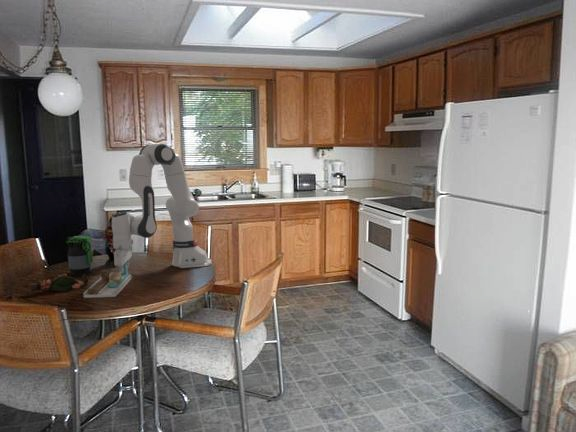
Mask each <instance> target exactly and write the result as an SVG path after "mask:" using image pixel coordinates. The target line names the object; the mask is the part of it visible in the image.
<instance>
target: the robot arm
mask: <svg viewBox="0 0 576 432" xmlns="http://www.w3.org/2000/svg"><path fill="white" fill-rule="evenodd" d="M159 165H161V167H162V170H163V174H164V179H165V183H166V188H167V189H168V191H169V193H170V194H171V196H170V197H169V198H168V199H166V201H165V208H166V210H167V212H168V214H169V217H170V221H171V224H172V225H171V226H172V235H173V240H172V249H173V254H172V255H173V256H172V262H171V265H172V266H174V267H177V268H179V269H185V268H196V267H197V268H200V267H209V266H210V265H211V264H212V259H211V258H208V254H207V251H206V250H205V249H203V248H201V247H200V246H198V240H197V239H195V238H194V227H193V224H192V223H191V220H190V218H192V217H194V216H196V215H197V214H198V213H199V211H200V210H199V209H200V205H199V202H198V201H197V200H196V199H195V198H194V195H193V194H192V191H191V190H190V186H189V185H188V181H187V177H186V171H185V168H184V165H183V162H182V159H181V157H180V155H179V154H177V153H175V152H174V149H173V148H172V146H170V145H168V144H165V143H153V144H146V145H144V146H143V147H142V148H141V149H140V151H139V153H138V154H136V155H135V156H133V157H132V161H131V163H130V167H129V175H128V184H129V188H130V190H132V191H133V192H134V193H135V194H137V195H138V196H139V198H140V200H141V202H142V203H141V204H142V206H141V208H142V213H141V214H142V215H141V216H142V217H141V216H137V215H133V214H131V213H129V212H128V211H119V212H116V213H113V214H114V215H113V217H112V231H113V248H114V249H116V251H115V252H114V264H115V266H117V268H118V270H119V271H118V272H121V273H123V272H124V269H123V264H125V265H127V268H129V266H130V259H131V257H133V244H134V240H133V239H132V236H133V235H134V236H139V237H142V238H145V239H149V238H151V237H153V236H154V235H155V233H156V232H157V228H158V226H157V221H156V220H157V219H156V209H155V207H156V206H155V202H156V201H155V192H154V191H155V190H154V189H153V184H152V177H153V176H152V175H153V168H154V166H159Z"/></svg>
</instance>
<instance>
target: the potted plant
mask: <svg viewBox="0 0 576 432" xmlns="http://www.w3.org/2000/svg"><path fill="white" fill-rule="evenodd" d="M65 243H67V244H66V245H67V259H68V262H67V263H68V270H69V272H70V274H71V275H72V276H82V275H83V274H84V275H87V274H89V273H90V270H91V263H92V262H93V260H94V259H93V248H92V247H93V246H92V237H91V235H89V236H88V235H87V236H86V235H85V236H84V235H83V236H82V235H75V236H66V241H65Z"/></svg>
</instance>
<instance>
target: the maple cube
mask: <svg viewBox="0 0 576 432" xmlns="http://www.w3.org/2000/svg"><path fill="white" fill-rule="evenodd" d="M121 281H122V277H121V272H119V271H112V272H109V282H118V284H119V283H120V282H121Z"/></svg>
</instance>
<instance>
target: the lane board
mask: <svg viewBox="0 0 576 432" xmlns="http://www.w3.org/2000/svg"><path fill="white" fill-rule="evenodd" d="M100 280H101V277H100V278H99V279H98V280H96V281H95V282H94V283H92V284H91V286H90V287H88V288H87V289H86V290H84V292H82V294H83V298H84V299H86V298H87V299H88V298H113V297H114V298H115V297H117V296H118V295H119V293H120V292H122V290H124V287H125V286H126V285H128V283H129V282H130V281H131V280H132V274H129V275H128V276H127V278H126V279H125V280H124V281H123V282H122V283H121V284H120V285H119V286H118V287H109V283H107V284H106V285H105V286H104V287H103V288H102V289H101V290H100V291H99V292H98V294H88V289H91V288H93V287H94V286H95V285H96V284H97V283H98V282H99V281H100Z"/></svg>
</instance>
